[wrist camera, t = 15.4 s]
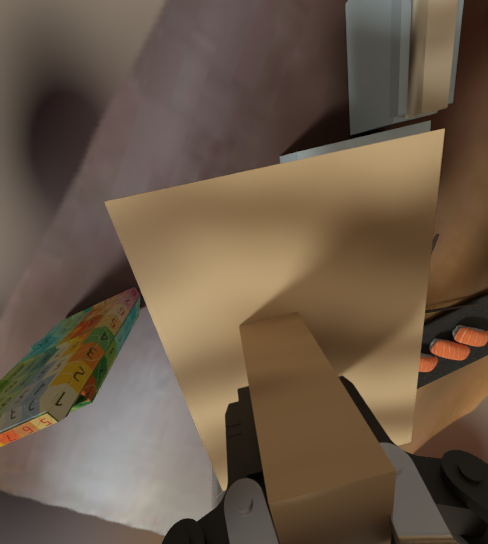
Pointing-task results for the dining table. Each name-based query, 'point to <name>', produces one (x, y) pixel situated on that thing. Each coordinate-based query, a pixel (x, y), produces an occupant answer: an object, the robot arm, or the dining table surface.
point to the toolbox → (379, 73)
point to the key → (430, 55)
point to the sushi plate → (453, 339)
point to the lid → (298, 318)
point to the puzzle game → (65, 367)
